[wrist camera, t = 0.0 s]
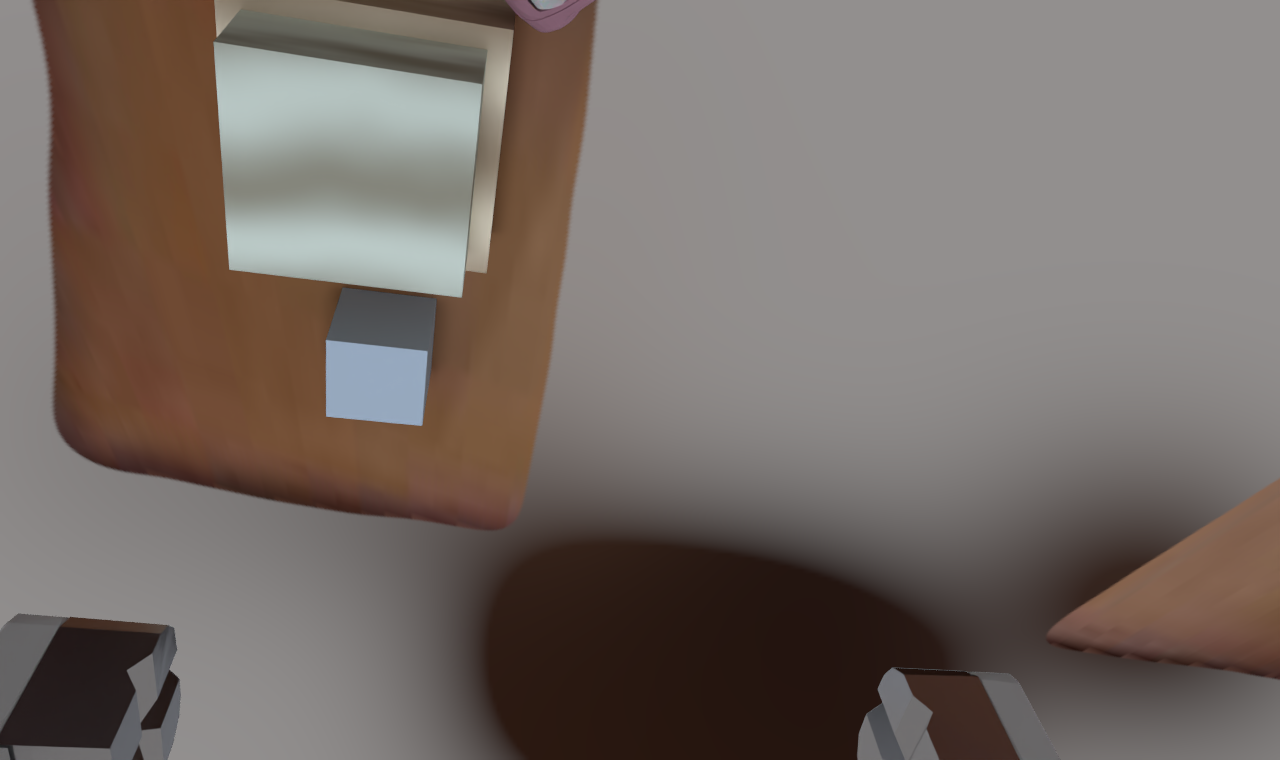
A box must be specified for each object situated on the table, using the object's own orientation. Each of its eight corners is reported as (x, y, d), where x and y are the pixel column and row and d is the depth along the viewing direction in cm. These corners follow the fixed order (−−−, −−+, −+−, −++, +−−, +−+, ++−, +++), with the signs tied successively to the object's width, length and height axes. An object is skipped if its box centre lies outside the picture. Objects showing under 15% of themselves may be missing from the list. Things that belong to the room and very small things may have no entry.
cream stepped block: (238, -47, 42) (182, 9, 36) (516, 1, 44) (510, 63, 38) (251, 201, 49) (206, 286, 43) (490, 233, 51) (481, 318, 45)
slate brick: (342, 286, 52) (325, 340, 49) (436, 297, 53) (427, 351, 49) (342, 360, 55) (326, 416, 51) (431, 370, 56) (422, 425, 52)
